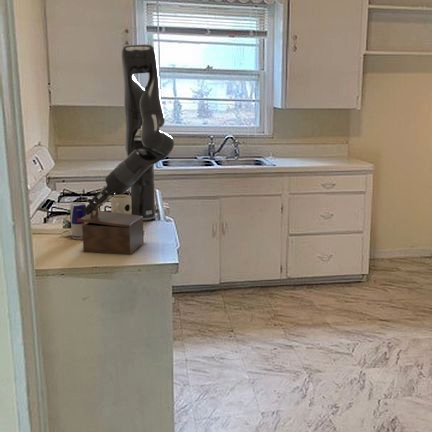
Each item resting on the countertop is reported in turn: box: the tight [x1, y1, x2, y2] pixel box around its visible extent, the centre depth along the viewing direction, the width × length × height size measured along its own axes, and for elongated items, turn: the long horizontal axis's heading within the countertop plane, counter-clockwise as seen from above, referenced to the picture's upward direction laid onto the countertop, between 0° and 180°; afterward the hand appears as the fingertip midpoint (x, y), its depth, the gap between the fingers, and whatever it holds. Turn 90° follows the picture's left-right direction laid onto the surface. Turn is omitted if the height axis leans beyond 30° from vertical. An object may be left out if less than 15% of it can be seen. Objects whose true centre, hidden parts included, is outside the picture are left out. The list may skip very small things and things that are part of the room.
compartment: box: [82, 219, 145, 255], centre depth 190 cm, size 16×13×9 cm
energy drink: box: [69, 202, 87, 240], centre depth 199 cm, size 5×5×12 cm
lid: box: [80, 201, 143, 228], centre depth 188 cm, size 16×13×5 cm
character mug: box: [110, 194, 132, 215], centre depth 209 cm, size 11×7×13 cm, turn 176°
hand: (89, 210), depth 188 cm, fingers closed on lid, 5 cm apart
